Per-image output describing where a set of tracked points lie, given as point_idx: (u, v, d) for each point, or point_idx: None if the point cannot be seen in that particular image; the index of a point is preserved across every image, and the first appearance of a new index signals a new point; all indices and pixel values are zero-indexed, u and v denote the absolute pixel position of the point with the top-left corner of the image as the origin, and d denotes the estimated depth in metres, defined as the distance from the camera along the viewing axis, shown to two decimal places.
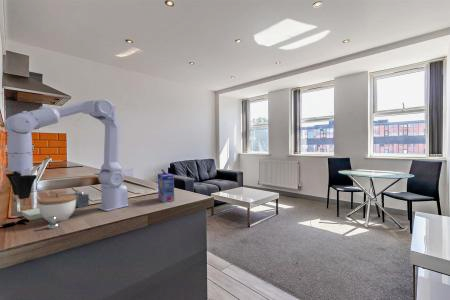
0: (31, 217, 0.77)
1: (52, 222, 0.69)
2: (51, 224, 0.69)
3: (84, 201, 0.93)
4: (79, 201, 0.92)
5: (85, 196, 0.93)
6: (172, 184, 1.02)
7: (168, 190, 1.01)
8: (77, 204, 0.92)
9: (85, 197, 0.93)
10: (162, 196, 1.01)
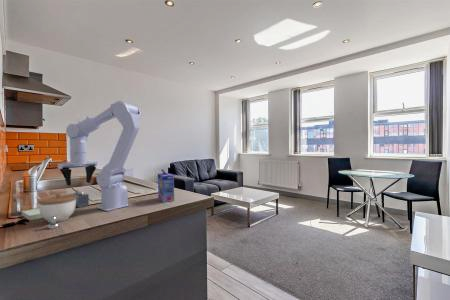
0: (31, 217, 0.77)
1: (52, 222, 0.69)
2: (51, 224, 0.69)
3: (84, 201, 0.93)
4: (79, 201, 0.91)
5: (85, 196, 0.93)
6: (172, 184, 1.02)
7: (168, 190, 1.01)
8: (77, 204, 0.92)
9: (85, 197, 0.93)
10: (162, 196, 1.01)
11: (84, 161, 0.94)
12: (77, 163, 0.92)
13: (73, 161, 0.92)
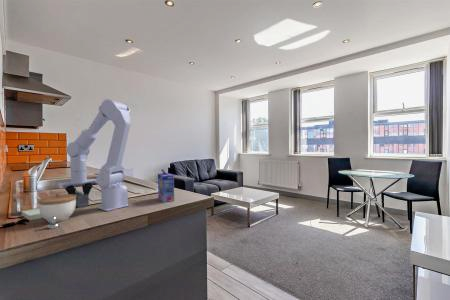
0: (31, 217, 0.77)
1: (52, 222, 0.69)
2: (51, 224, 0.69)
3: (84, 201, 0.93)
4: (79, 201, 0.91)
5: (85, 196, 0.93)
6: (172, 184, 1.02)
7: (168, 190, 1.01)
8: (77, 204, 0.92)
9: (85, 197, 0.93)
10: (162, 196, 1.01)
11: (84, 179, 0.94)
12: (77, 182, 0.92)
13: (73, 180, 0.92)
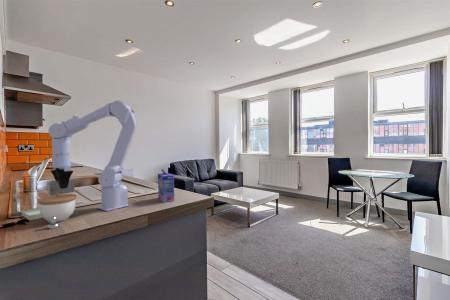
0: (31, 217, 0.77)
1: (52, 222, 0.69)
2: (51, 224, 0.69)
3: None
4: None
5: None
6: (172, 184, 1.02)
7: (169, 190, 1.01)
8: (71, 188, 0.90)
9: None
10: (162, 196, 1.01)
11: None
12: (70, 164, 0.90)
13: (67, 163, 0.88)
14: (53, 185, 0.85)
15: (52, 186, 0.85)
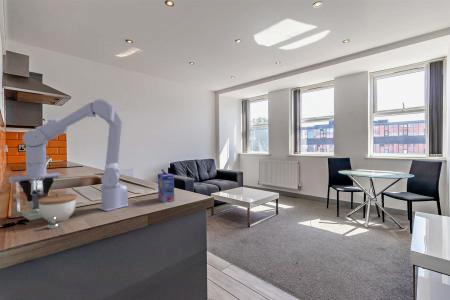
0: (31, 217, 0.77)
1: (52, 222, 0.69)
2: (51, 224, 0.69)
3: None
4: None
5: None
6: (172, 184, 1.02)
7: (168, 190, 1.01)
8: None
9: None
10: (162, 196, 1.01)
11: None
12: None
13: None
14: None
15: None
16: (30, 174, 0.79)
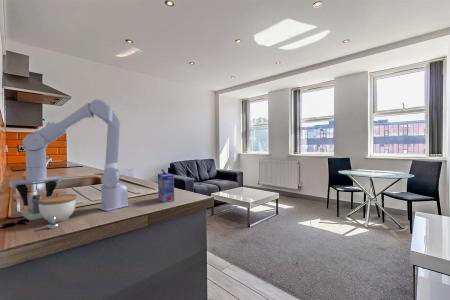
0: (31, 217, 0.77)
1: (52, 222, 0.69)
2: (51, 224, 0.69)
3: None
4: None
5: None
6: (172, 184, 1.02)
7: (168, 190, 1.01)
8: None
9: None
10: (162, 196, 1.01)
11: None
12: None
13: None
14: None
15: None
16: (30, 177, 0.79)
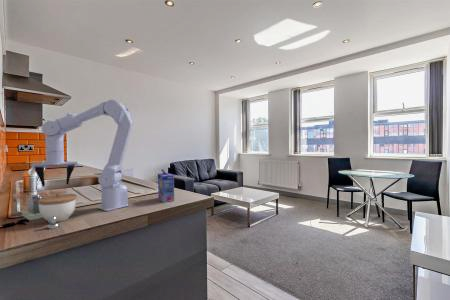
0: (31, 217, 0.77)
1: (52, 222, 0.69)
2: (51, 224, 0.69)
3: None
4: None
5: None
6: (172, 184, 1.02)
7: (168, 190, 1.01)
8: None
9: None
10: (162, 196, 1.01)
11: None
12: None
13: None
14: None
15: None
16: (48, 161, 0.86)
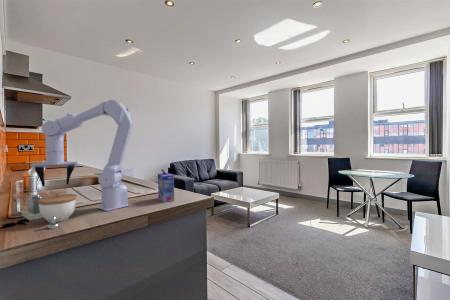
0: (31, 217, 0.77)
1: (52, 222, 0.69)
2: (51, 224, 0.69)
3: None
4: None
5: None
6: (172, 184, 1.02)
7: (168, 190, 1.01)
8: None
9: None
10: (162, 196, 1.01)
11: None
12: None
13: None
14: None
15: None
16: (48, 161, 0.86)
